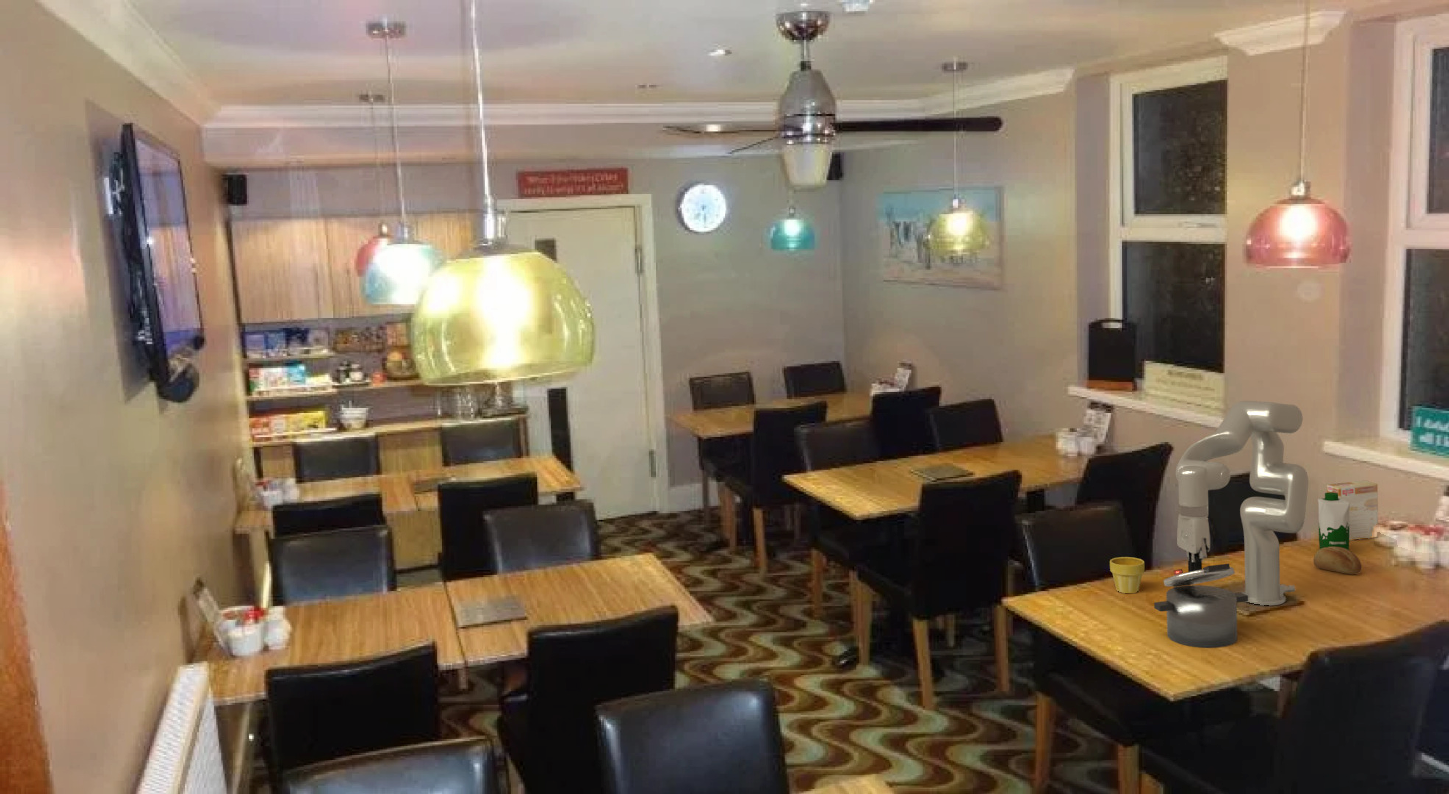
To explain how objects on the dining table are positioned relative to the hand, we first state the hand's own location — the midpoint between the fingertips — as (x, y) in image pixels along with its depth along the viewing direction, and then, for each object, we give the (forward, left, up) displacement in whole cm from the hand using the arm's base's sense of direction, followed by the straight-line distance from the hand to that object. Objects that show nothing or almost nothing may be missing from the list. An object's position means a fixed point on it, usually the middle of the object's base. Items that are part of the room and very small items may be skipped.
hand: (1195, 574), depth 317 cm
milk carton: (-83, -57, -17) cm, 102 cm away
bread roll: (-70, -38, -18) cm, 82 cm away
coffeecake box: (-100, -71, -17) cm, 124 cm away
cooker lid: (0, +3, 0) cm, 3 cm away
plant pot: (-1, -42, -17) cm, 46 cm away
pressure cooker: (0, +3, -17) cm, 17 cm away
